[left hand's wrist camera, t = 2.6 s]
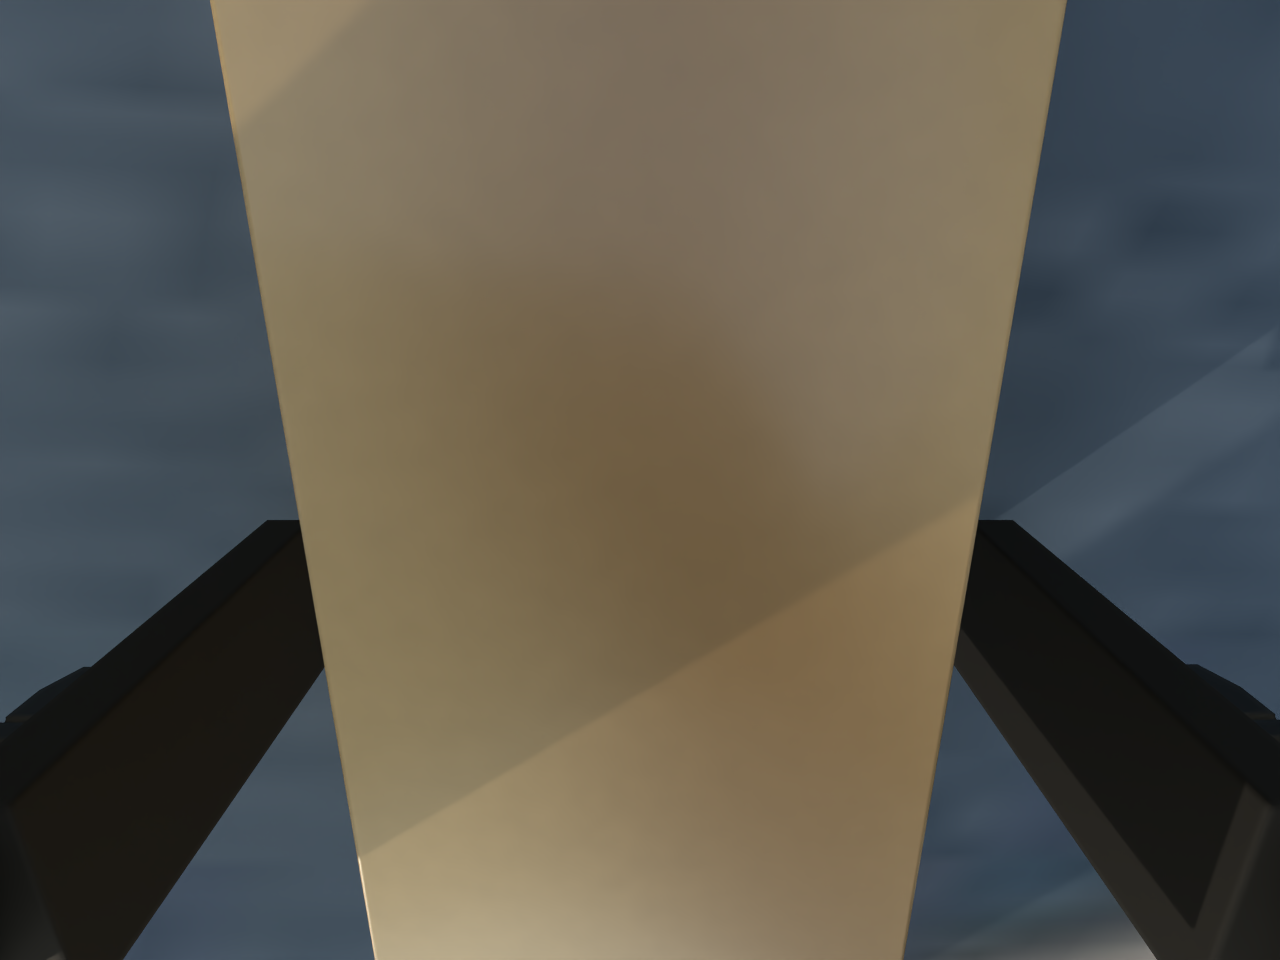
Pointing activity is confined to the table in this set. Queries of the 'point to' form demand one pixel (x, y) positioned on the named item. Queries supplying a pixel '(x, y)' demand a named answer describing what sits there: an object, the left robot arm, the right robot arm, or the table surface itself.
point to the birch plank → (638, 442)
